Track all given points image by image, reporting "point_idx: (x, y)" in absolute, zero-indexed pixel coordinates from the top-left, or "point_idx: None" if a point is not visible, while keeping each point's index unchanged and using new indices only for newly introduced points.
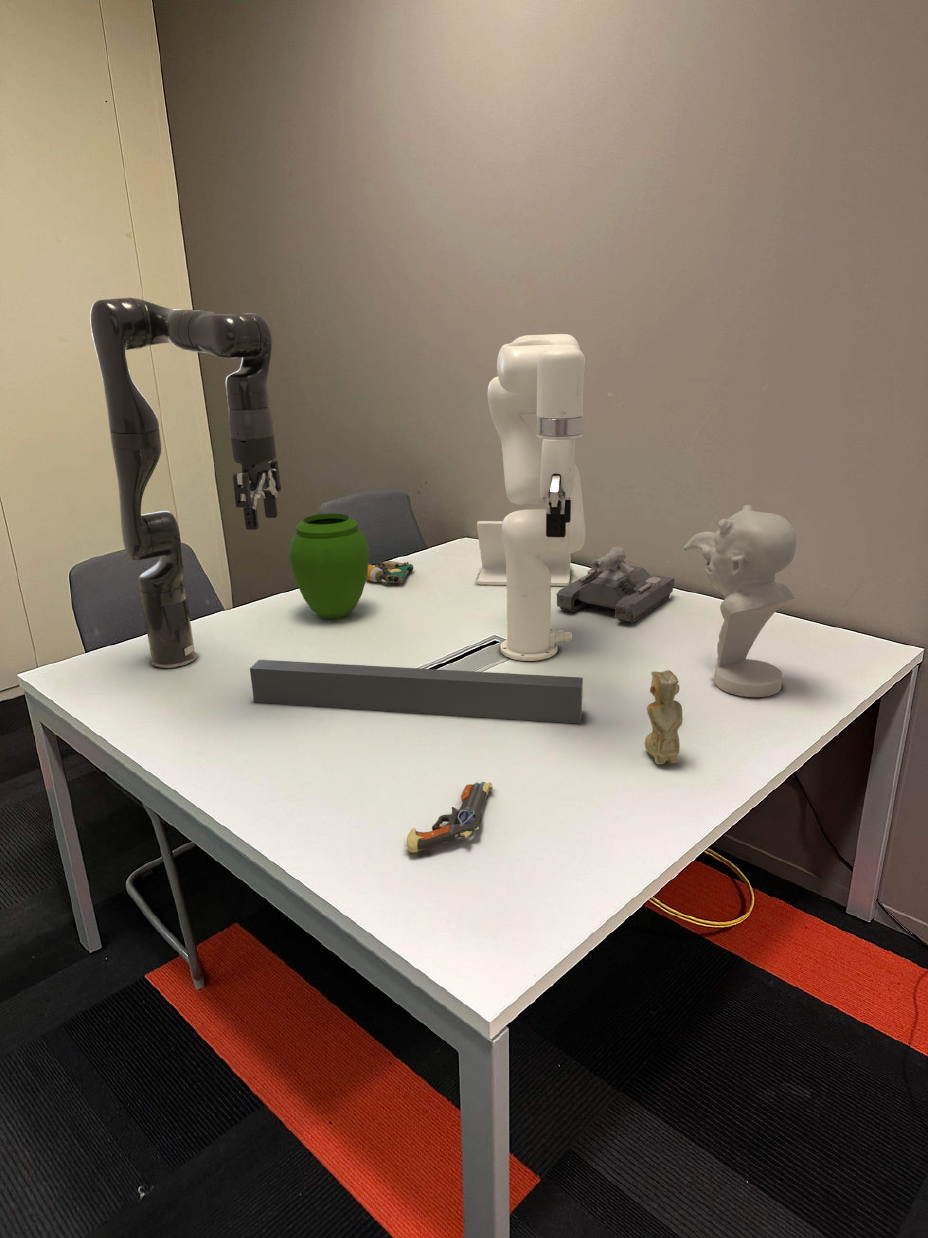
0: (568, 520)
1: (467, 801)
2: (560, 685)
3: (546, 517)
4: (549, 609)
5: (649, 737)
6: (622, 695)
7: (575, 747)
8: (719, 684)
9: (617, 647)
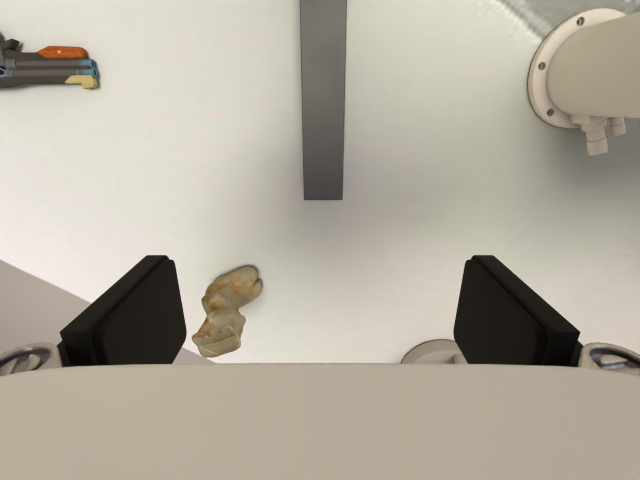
0: (456, 338)
1: (35, 59)
2: (306, 166)
3: (83, 314)
4: (630, 116)
5: (226, 280)
6: (399, 235)
7: (241, 183)
8: (424, 346)
9: (573, 223)
